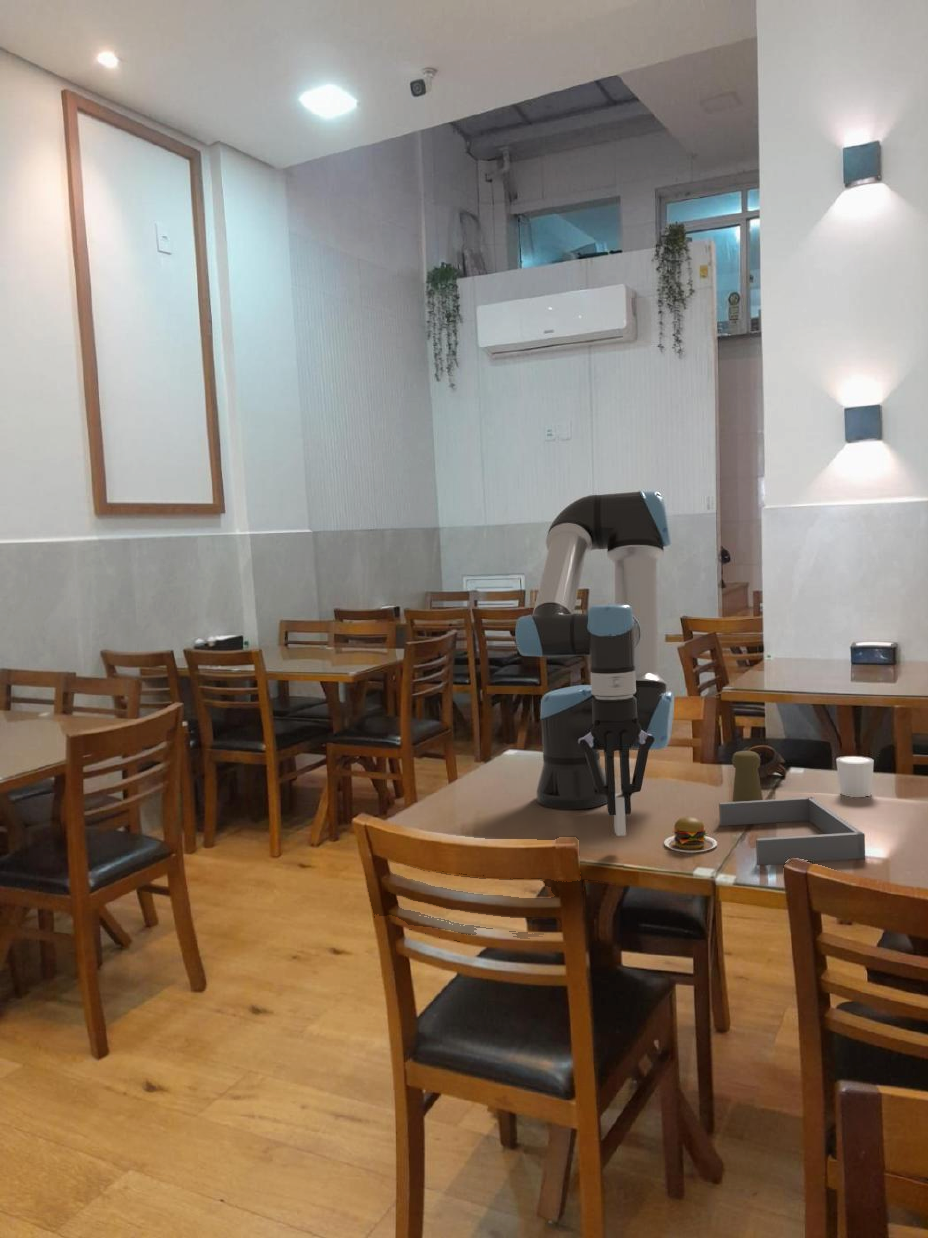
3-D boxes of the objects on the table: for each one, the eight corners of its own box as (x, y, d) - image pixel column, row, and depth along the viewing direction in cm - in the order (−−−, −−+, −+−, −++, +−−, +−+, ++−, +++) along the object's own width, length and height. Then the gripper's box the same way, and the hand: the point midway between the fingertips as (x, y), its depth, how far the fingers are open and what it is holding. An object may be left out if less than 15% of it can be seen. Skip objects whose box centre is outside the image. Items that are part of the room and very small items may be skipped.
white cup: (876, 799, 179) (875, 763, 179) (838, 798, 181) (837, 763, 181) (873, 790, 186) (872, 755, 185) (836, 789, 188) (835, 755, 187)
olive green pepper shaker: (766, 812, 175) (764, 755, 174) (732, 812, 176) (730, 755, 175) (762, 803, 181) (760, 748, 180) (730, 803, 182) (728, 748, 181)
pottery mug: (799, 781, 197) (791, 752, 193) (766, 806, 195) (757, 777, 191) (760, 757, 208) (751, 729, 204) (728, 780, 205) (719, 753, 202)
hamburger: (726, 838, 163) (725, 808, 163) (727, 861, 152) (725, 829, 151) (657, 837, 166) (656, 807, 166) (652, 859, 155) (651, 827, 155)
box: (719, 824, 169) (718, 802, 169) (812, 818, 170) (811, 797, 169) (758, 865, 148) (757, 840, 147) (865, 858, 148) (864, 834, 147)
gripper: (578, 701, 153) (585, 842, 154) (657, 697, 153) (663, 837, 154) (572, 695, 160) (579, 829, 162) (647, 690, 160) (653, 824, 162)
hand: (620, 833), depth 158 cm, fingers closed
